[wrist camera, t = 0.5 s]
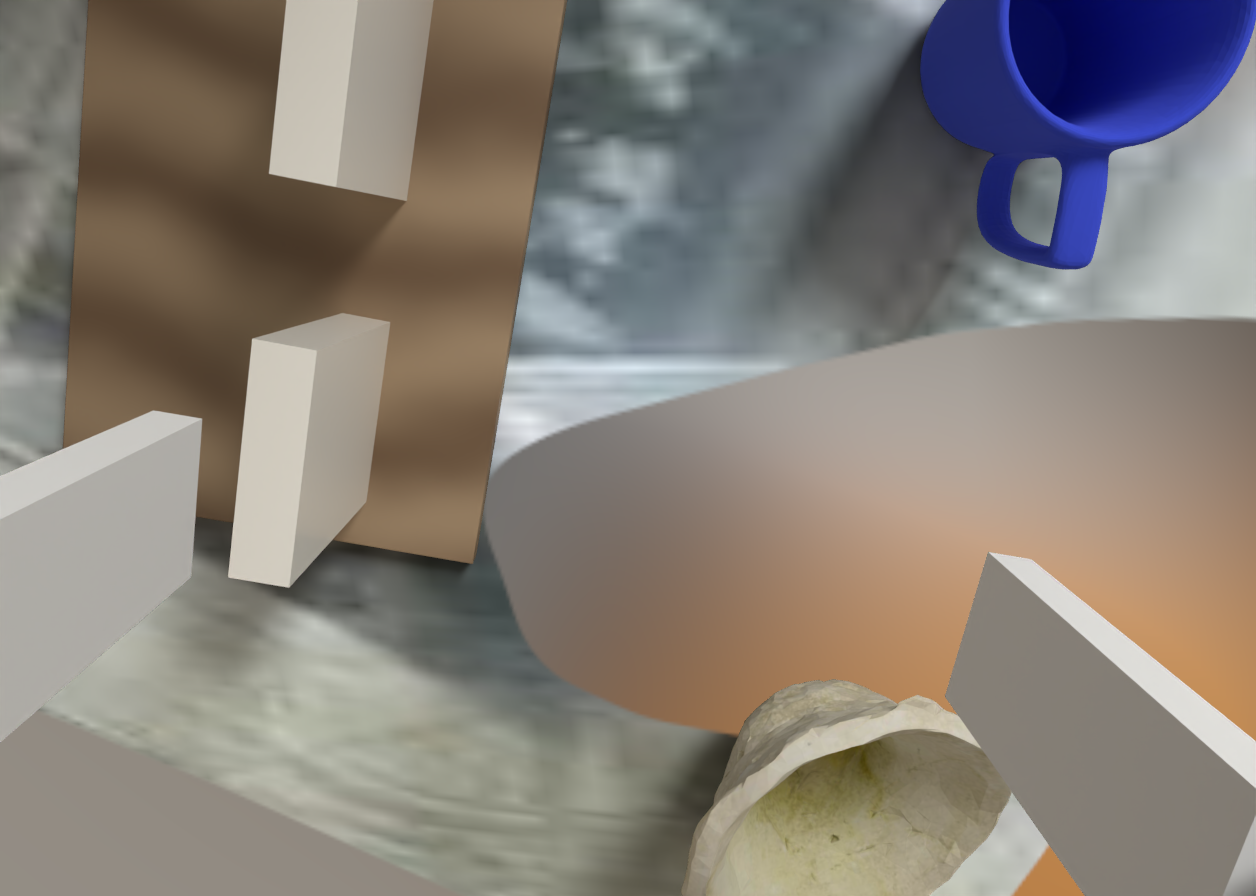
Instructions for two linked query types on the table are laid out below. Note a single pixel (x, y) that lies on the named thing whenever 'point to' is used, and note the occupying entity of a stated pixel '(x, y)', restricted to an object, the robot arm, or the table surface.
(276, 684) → the table surface
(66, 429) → the board
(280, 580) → the tile
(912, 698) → the bowl
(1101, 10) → the mug
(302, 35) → the tile
